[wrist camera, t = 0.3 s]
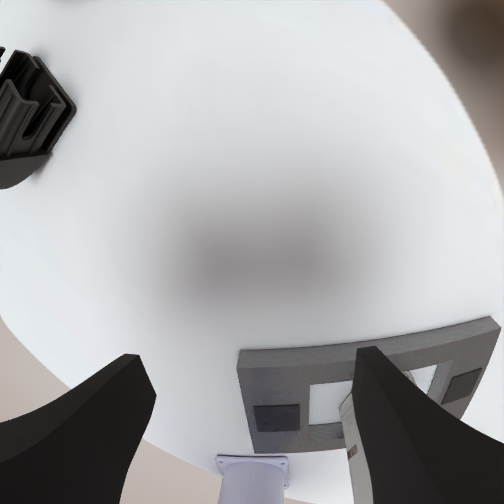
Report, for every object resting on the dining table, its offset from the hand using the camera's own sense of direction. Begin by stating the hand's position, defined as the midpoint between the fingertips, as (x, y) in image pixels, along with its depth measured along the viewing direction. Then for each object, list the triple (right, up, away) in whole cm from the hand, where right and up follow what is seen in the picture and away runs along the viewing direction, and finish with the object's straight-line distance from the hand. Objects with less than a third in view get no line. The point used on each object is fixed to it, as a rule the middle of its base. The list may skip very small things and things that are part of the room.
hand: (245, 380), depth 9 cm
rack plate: (+11, -8, +12) cm, 18 cm away
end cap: (-18, +16, +7) cm, 25 cm away
